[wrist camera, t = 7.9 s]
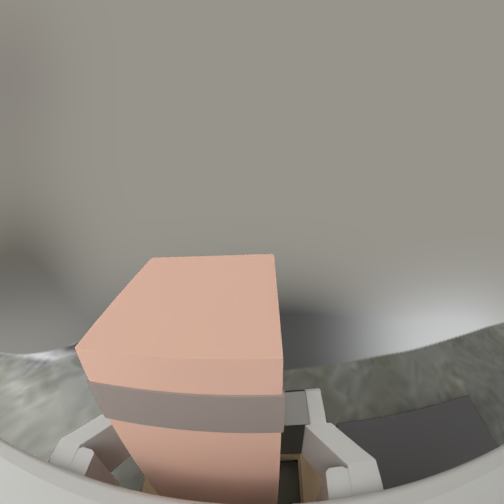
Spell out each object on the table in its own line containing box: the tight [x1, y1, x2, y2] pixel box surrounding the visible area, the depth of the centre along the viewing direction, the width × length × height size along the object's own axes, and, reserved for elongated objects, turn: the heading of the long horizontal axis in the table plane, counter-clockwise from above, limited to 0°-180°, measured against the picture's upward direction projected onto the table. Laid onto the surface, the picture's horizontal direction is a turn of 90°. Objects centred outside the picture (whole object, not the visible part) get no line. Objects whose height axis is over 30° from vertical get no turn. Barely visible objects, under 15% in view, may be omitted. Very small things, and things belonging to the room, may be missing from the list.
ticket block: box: [75, 254, 285, 504], centre depth 9 cm, size 4×5×12 cm
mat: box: [336, 395, 498, 490], centre depth 12 cm, size 12×14×1 cm
